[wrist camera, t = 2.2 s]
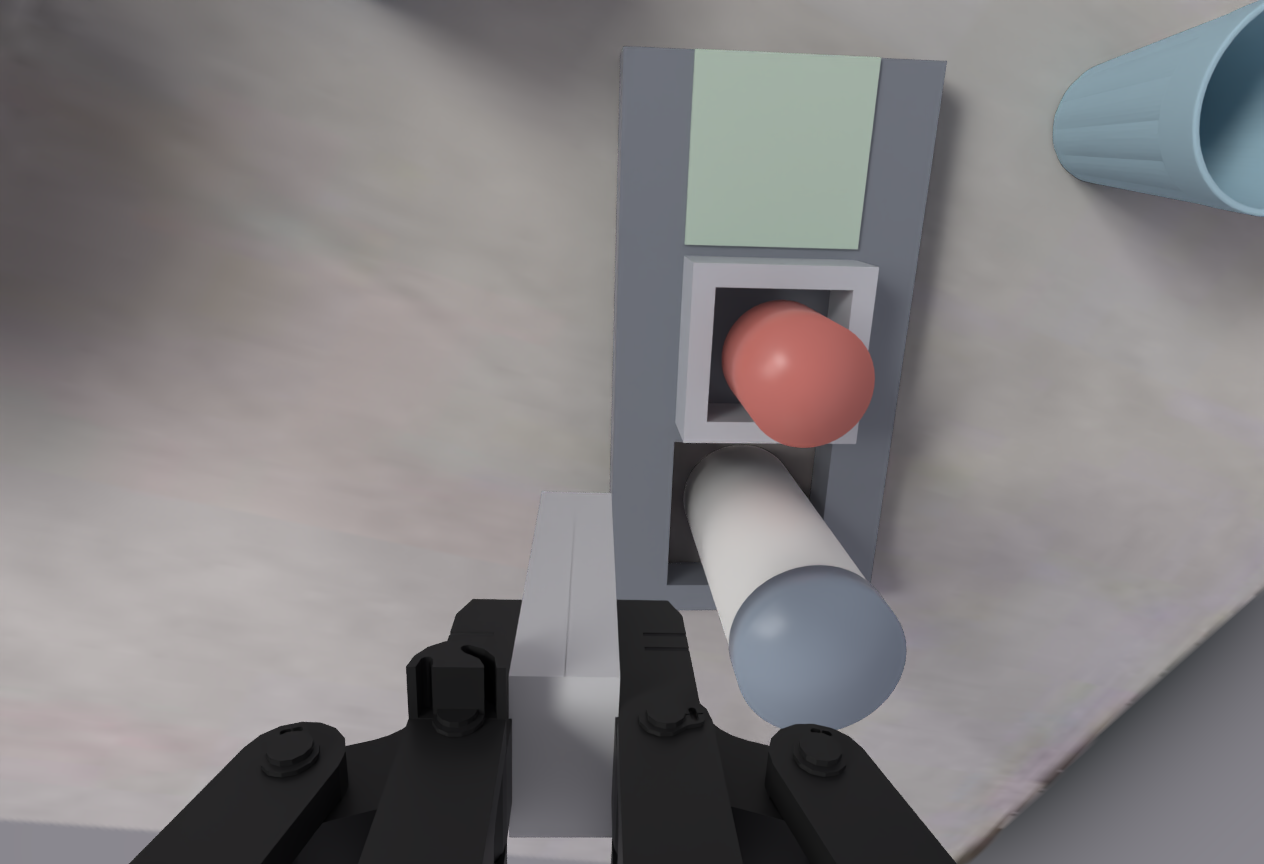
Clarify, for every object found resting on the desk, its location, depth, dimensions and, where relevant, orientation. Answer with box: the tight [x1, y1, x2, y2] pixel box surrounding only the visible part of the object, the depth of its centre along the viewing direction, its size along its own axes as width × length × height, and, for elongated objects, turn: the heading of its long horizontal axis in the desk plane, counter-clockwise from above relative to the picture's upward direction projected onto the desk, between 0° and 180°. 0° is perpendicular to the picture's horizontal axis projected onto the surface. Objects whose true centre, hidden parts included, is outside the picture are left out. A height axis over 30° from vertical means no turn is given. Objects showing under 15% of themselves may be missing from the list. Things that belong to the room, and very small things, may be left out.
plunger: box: [722, 300, 875, 448], centre depth 31 cm, size 5×5×5 cm
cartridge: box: [683, 445, 906, 730], centre depth 35 cm, size 6×6×15 cm
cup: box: [1053, 0, 1264, 217], centre depth 32 cm, size 8×8×10 cm
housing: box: [610, 46, 947, 610], centre depth 37 cm, size 14×27×6 cm, turn 178°
